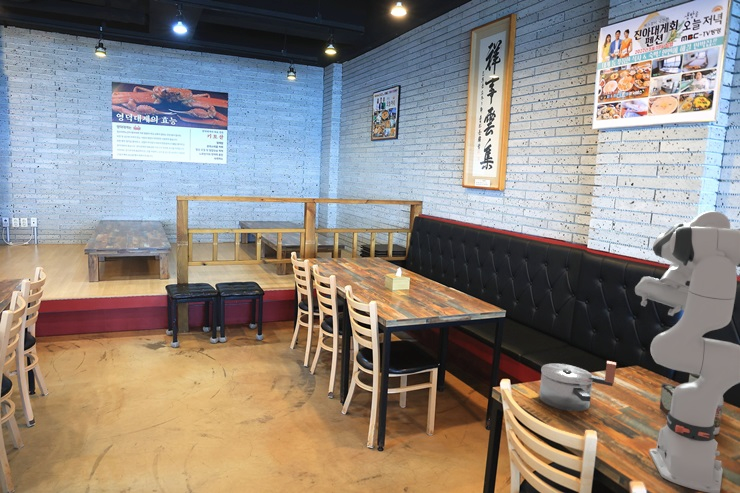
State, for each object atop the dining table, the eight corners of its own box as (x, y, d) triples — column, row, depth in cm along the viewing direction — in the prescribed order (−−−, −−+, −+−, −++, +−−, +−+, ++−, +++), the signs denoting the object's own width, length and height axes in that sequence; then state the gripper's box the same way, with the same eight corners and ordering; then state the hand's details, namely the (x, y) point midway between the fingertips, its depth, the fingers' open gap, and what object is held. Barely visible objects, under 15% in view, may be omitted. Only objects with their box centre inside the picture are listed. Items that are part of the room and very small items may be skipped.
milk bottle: (686, 425, 173) (694, 371, 170) (703, 423, 175) (711, 370, 173) (707, 436, 166) (716, 380, 163) (724, 434, 168) (733, 378, 165)
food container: (689, 424, 174) (693, 397, 173) (670, 421, 175) (674, 395, 174) (675, 409, 186) (679, 384, 185) (658, 406, 187) (661, 382, 186)
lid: (537, 377, 182) (540, 356, 181) (544, 362, 199) (546, 343, 198) (612, 394, 171) (615, 371, 170) (613, 377, 187) (616, 356, 186)
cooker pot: (530, 388, 197) (533, 364, 196) (573, 390, 198) (576, 366, 197) (558, 419, 171) (562, 392, 170) (608, 421, 172) (612, 394, 171)
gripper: (644, 269, 189) (626, 294, 184) (703, 287, 175) (686, 314, 170) (644, 280, 193) (627, 304, 188) (702, 298, 178) (686, 325, 173)
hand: (656, 309), depth 179 cm, fingers open, 8 cm apart
